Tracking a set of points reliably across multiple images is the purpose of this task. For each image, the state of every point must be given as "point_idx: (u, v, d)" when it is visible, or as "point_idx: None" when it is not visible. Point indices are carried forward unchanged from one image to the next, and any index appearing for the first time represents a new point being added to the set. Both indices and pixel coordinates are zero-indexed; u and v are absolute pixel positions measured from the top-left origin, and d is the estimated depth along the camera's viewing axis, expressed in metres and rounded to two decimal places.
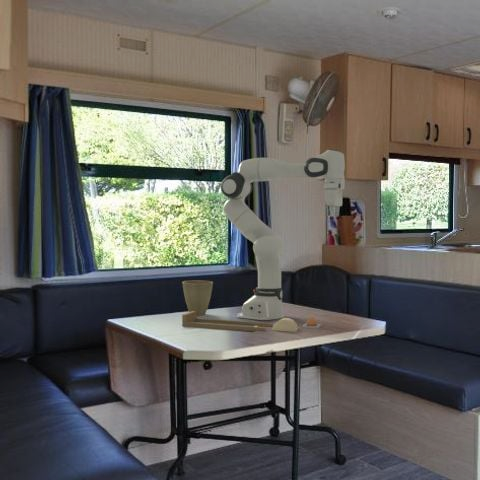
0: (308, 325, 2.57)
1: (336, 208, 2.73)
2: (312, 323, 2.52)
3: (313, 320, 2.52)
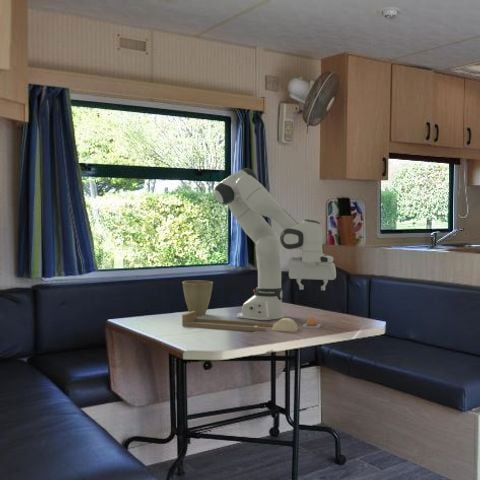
0: (308, 325, 2.57)
1: None
2: (312, 323, 2.52)
3: (313, 320, 2.52)
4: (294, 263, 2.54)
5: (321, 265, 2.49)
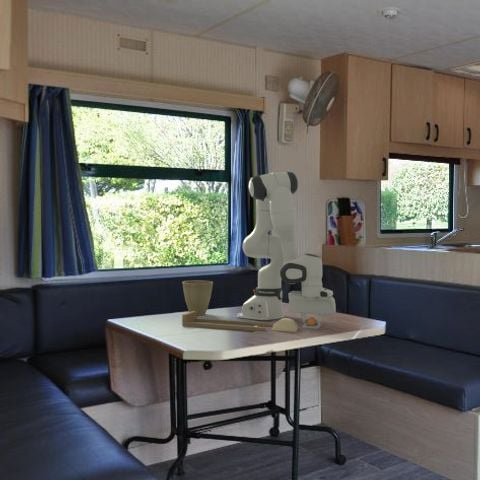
0: (308, 325, 2.57)
1: None
2: (312, 323, 2.52)
3: (313, 320, 2.52)
4: (294, 296, 2.54)
5: (320, 299, 2.50)
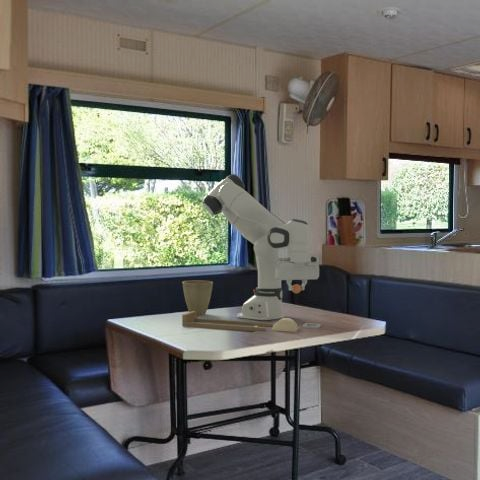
0: (308, 325, 2.57)
1: None
2: (300, 289, 2.50)
3: (300, 286, 2.50)
4: (285, 264, 2.46)
5: (309, 265, 2.50)
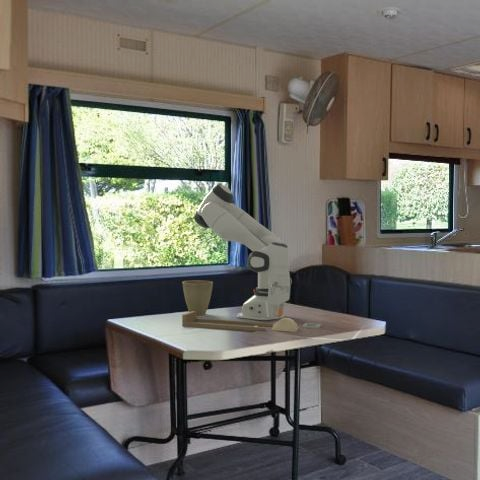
0: (308, 325, 2.57)
1: None
2: (282, 313, 2.48)
3: None
4: (277, 289, 2.40)
5: (287, 287, 2.51)
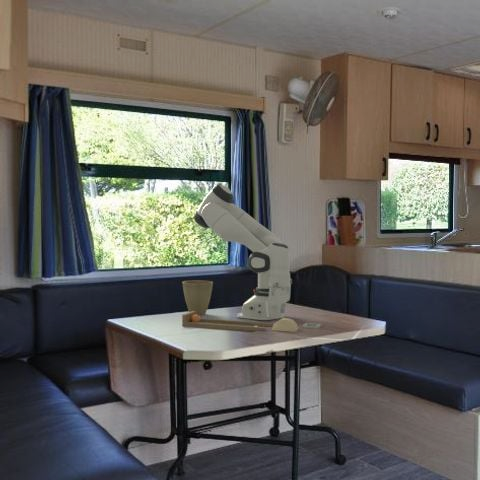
0: (308, 325, 2.57)
1: None
2: None
3: None
4: (278, 289, 2.41)
5: (288, 287, 2.51)
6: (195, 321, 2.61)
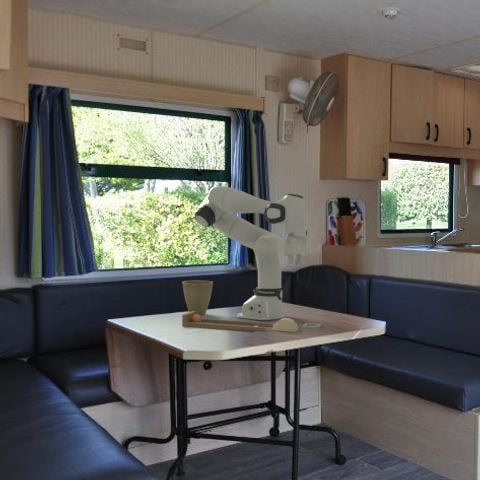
0: (308, 325, 2.57)
1: None
2: (199, 315, 2.62)
3: None
4: (294, 238, 2.42)
5: (303, 239, 2.53)
6: (196, 321, 2.61)
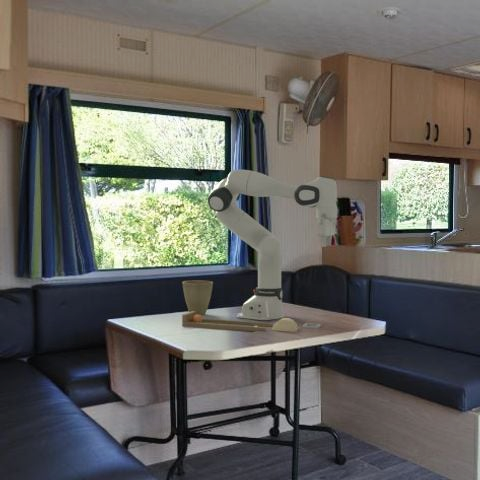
0: (308, 325, 2.57)
1: None
2: (201, 316, 2.62)
3: None
4: (327, 219, 2.48)
5: (334, 220, 2.58)
6: (196, 322, 2.60)
